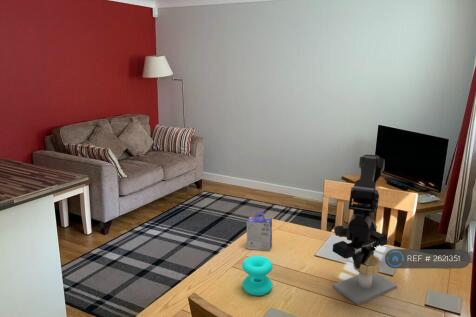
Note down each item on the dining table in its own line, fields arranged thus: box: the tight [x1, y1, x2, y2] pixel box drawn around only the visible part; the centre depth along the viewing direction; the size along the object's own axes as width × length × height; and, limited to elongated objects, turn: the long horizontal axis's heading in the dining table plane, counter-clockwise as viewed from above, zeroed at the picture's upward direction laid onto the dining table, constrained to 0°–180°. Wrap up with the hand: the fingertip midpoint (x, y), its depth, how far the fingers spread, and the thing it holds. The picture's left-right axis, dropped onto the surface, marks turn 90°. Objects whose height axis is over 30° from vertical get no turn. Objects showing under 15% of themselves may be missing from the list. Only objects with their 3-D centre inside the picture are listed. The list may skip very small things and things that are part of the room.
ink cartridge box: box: [246, 212, 273, 252], centre depth 154 cm, size 10×6×14 cm, turn 78°
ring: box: [353, 254, 381, 275], centre depth 125 cm, size 8×8×3 cm
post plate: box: [332, 272, 398, 306], centre depth 126 cm, size 18×11×6 cm, turn 119°
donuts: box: [241, 255, 274, 296], centre depth 126 cm, size 10×10×10 cm
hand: (358, 267), depth 123 cm, fingers closed on ring
